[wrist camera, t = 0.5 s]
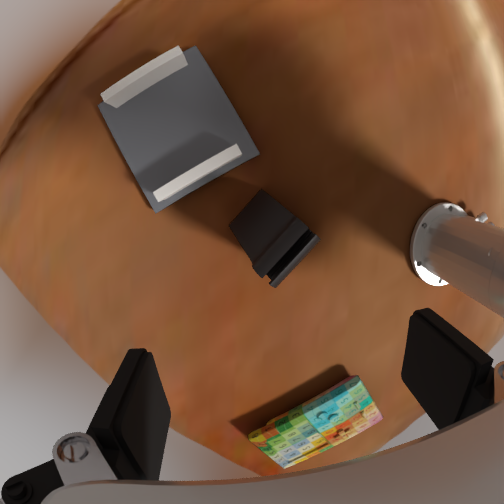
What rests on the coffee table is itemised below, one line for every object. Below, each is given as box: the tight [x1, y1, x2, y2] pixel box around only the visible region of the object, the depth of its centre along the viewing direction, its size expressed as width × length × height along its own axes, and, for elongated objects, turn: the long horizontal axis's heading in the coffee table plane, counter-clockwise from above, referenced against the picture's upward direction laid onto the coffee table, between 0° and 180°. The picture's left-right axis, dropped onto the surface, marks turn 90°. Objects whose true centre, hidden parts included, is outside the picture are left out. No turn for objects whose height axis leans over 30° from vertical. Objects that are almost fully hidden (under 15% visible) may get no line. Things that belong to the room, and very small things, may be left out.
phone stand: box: [229, 189, 321, 288], centre depth 32 cm, size 9×6×12 cm, turn 48°
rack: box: [98, 45, 260, 213], centre depth 32 cm, size 14×16×6 cm
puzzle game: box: [248, 375, 383, 469], centre depth 45 cm, size 12×5×20 cm
